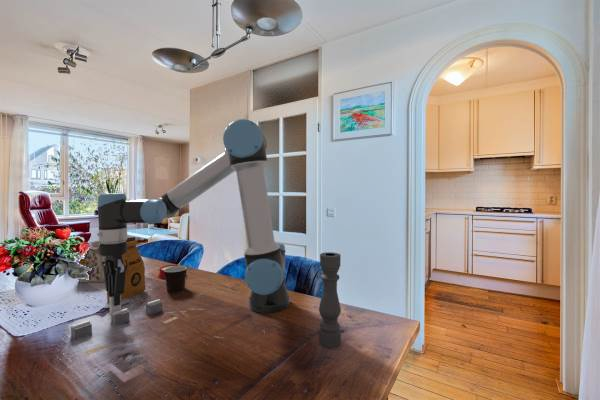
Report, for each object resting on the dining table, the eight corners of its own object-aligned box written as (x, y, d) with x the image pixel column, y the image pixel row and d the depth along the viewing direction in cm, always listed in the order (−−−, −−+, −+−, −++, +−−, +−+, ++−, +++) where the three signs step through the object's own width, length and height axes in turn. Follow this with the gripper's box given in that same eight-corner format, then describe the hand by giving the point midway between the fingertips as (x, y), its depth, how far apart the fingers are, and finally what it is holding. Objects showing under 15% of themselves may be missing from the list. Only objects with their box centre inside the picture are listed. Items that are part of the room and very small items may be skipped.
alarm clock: (170, 264, 147) (189, 261, 140) (172, 276, 147) (192, 273, 140) (151, 269, 138) (172, 266, 131) (153, 282, 137) (174, 279, 131)
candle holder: (335, 350, 75) (335, 258, 74) (314, 344, 78) (315, 255, 77) (344, 340, 80) (344, 253, 79) (324, 334, 84) (325, 251, 83)
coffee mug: (181, 296, 112) (181, 272, 112) (160, 296, 112) (159, 272, 112) (193, 286, 124) (193, 264, 123) (173, 286, 124) (173, 264, 123)
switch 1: (92, 334, 81) (91, 322, 81) (74, 340, 77) (74, 327, 77) (88, 331, 82) (87, 319, 82) (71, 336, 79) (70, 324, 79)
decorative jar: (102, 282, 128) (100, 243, 127) (76, 282, 128) (75, 243, 128) (119, 274, 140) (118, 239, 139) (96, 274, 140) (95, 239, 140)
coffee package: (149, 292, 116) (148, 240, 116) (122, 304, 105) (120, 246, 104) (131, 289, 120) (130, 238, 119) (102, 300, 108) (101, 244, 107)
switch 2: (129, 320, 89) (129, 309, 89) (115, 325, 86) (115, 314, 85) (125, 318, 91) (125, 307, 90) (111, 323, 87) (110, 311, 87)
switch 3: (162, 310, 96) (162, 300, 96) (150, 314, 93) (150, 304, 93) (157, 308, 98) (157, 298, 98) (146, 312, 95) (145, 302, 95)
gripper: (91, 241, 90) (94, 313, 91) (108, 246, 82) (110, 324, 83) (117, 237, 96) (119, 305, 97) (135, 242, 88) (137, 315, 89)
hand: (115, 314), depth 90 cm, fingers closed
